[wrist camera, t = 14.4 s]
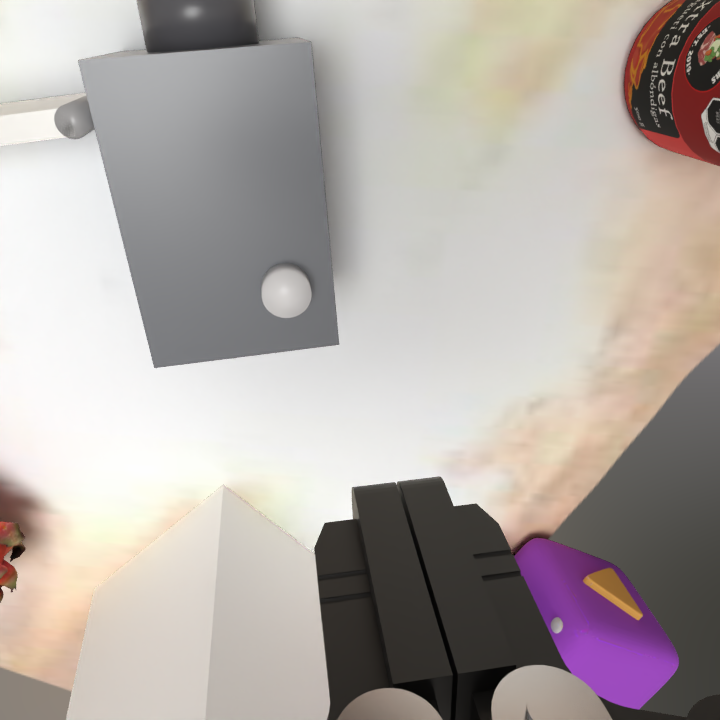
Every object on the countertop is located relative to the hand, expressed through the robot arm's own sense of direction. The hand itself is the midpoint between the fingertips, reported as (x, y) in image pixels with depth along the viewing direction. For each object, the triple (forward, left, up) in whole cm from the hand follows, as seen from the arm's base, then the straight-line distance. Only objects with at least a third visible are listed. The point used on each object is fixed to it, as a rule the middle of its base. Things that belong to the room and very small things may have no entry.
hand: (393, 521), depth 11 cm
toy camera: (+31, +14, -25) cm, 42 cm away
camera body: (-2, -3, -25) cm, 25 cm away
